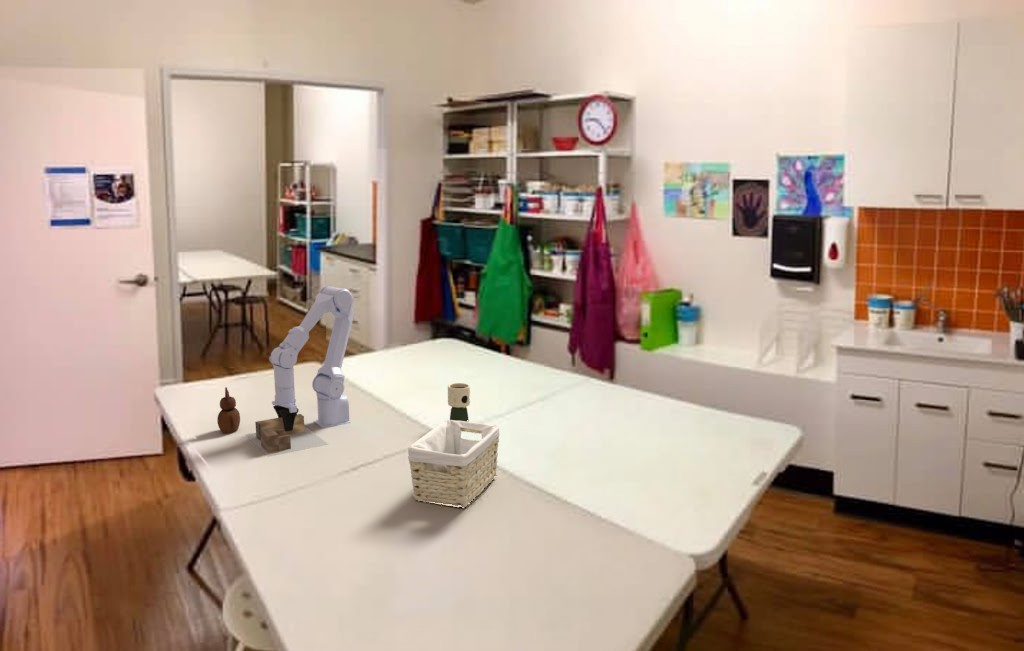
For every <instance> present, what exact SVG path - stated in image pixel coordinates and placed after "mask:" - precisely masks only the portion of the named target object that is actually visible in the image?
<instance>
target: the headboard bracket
mask: <svg viewBox="0 0 1024 651" xmlns="http://www.w3.org/2000/svg"><path fill="white" fill-rule="evenodd" d="M260 433H261V446H262V447H263V448H264V449H265V450H266V451H267V452H268V453H272V452H277V451H281V450H286V449H291V440H290V435H289V434H288V435H284V430H283V429H280V430H272V429H271V428H267V429H262V430H260Z"/></svg>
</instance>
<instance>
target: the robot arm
mask: <svg viewBox="0 0 1024 651" xmlns="http://www.w3.org/2000/svg"><path fill="white" fill-rule="evenodd" d="M354 299H355V297H354V296H353V294H352V293H351V291H350V290H348V289H347V288H344V287H343V288H340V287H336V286H331V285H324V286H323V287H322V288H321V289H320V291H319V292H318V293H317V294H316V296H315V300H314V303H313V304H312V305H311V307H310V309H309V310H308V311H307V313H306V315H305V316H304V317H303V320H302V321H301V323H300V324H299V326H293V327H292V328H290V329H289V330H288V331H287V333H288V334H287V335H286V337H285V338H284V340H283V341H281V342H280V343H279V345H278V346H277V347H275V348H274V349H273V350H272V351H271V353H270V356H268V357H269V358H268V360H269V362H270V363H271V364H272V367H273V376H274V378H273V379H274V401H271V404H272V406H273V409H274V411H275V413H276V415H277V418H280V417H282V419H283V424H284V429H285V431H286V432H287V431H292V430H293V426H294V421H295V417H296V415H297V414H299V411H300V410H299V408H297V407H298V406H297V399H296V396H295V395H296V393H295V392H296V391H295V390H296V389H295V374H294V370H295V369H294V366H295V365H296V364H297V361H298V355H299V353H300V351H301V350H302V348H303V347H304V346H305V345H306V343H307V342H308V340H309V339H310V334H309V333H310V331H311V330H312V329H313V328H314V327H315V326H316V325H317V323H318V322H319V321H320V319H322V317H323V316H324V315H325V314H327V313H332V314H333V316H334V317H335V318H334V323H333V327H332V329H331V330H332V331H331V334H330V339H329V343H328V346H327V351H326V355H325V359H324V363H323V365H322V366H321V367H319V369H318V370H317V372H316V376H314V378H313V380H312V384H311V386H312V388H313V389H312V390H314V392H315V393H316V399H317V401H316V402H317V419H314V420H313V422H314V423H315V424H316V425H318V426H319V427H320V428H322V429H325V428H329V427H336V426H340V425H346V424H351V421H350V404H349V403H350V402H349V399H348V397H347V395H346V394H344V393H345V392H344V391H345V383H344V382H345V374H344V373H343V371H342V366H343V363H344V362H343V361H344V358H345V353H346V350H347V346H348V341H349V338H350V334H351V330H352V325H353V321H354V316H355V313H354V301H355V300H354Z"/></svg>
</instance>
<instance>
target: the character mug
mask: <svg viewBox="0 0 1024 651" xmlns="http://www.w3.org/2000/svg"><path fill="white" fill-rule="evenodd" d="M470 396H471V386H470V384H469V383H464V382H454V383H450V384H448V385H447V404H448V406H449V407H450V413H449V420H454V421H465V422H470V421H469V420H470V419H469V413H468V408H467V407H468V406H470V403H471V400H470ZM467 420H468V421H467Z"/></svg>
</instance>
